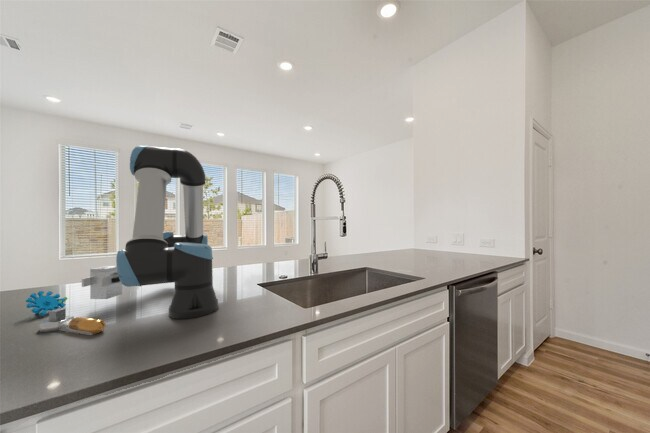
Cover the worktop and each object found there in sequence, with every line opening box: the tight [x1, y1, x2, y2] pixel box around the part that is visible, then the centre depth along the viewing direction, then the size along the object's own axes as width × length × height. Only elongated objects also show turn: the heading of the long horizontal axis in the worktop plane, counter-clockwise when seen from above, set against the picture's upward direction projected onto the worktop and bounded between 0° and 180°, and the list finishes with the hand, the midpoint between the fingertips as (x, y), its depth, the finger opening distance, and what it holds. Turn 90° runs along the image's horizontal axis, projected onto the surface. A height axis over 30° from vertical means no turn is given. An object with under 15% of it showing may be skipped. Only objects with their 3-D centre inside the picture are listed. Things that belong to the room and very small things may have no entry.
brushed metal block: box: [89, 265, 123, 300], centre depth 90 cm, size 6×6×10 cm
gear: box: [25, 290, 69, 316], centre depth 87 cm, size 11×6×10 cm
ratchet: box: [39, 308, 107, 336], centre depth 74 cm, size 22×7×5 cm, turn 74°
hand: (92, 282), depth 85 cm, fingers closed on brushed metal block, 6 cm apart
